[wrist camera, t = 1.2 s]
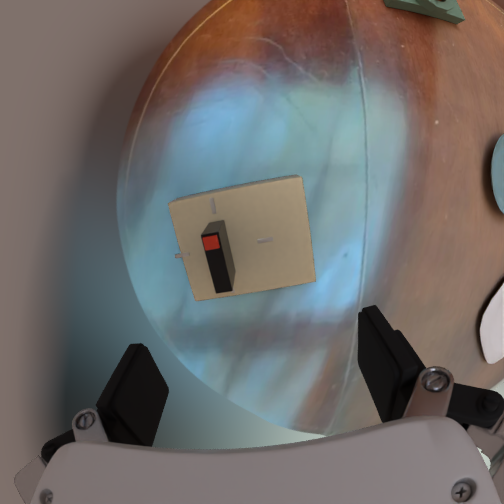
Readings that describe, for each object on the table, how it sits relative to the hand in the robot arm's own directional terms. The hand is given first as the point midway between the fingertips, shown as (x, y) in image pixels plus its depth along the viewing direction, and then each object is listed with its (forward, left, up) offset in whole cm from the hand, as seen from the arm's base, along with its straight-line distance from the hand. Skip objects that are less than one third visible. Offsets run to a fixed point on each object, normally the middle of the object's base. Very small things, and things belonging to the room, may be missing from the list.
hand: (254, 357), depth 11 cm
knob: (-3, 0, -15) cm, 15 cm away
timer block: (+26, +27, -18) cm, 42 cm away
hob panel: (-1, 0, -18) cm, 18 cm away
